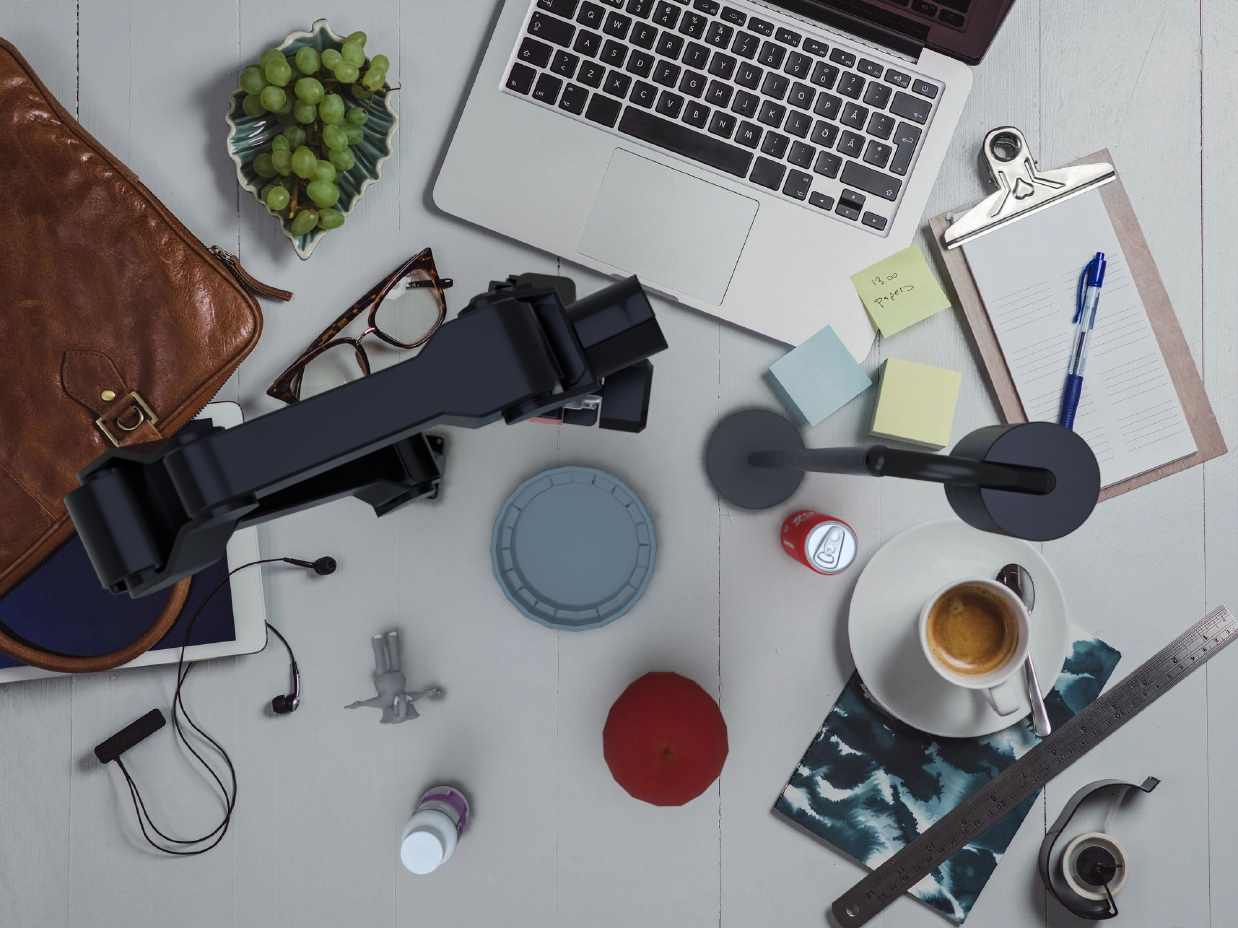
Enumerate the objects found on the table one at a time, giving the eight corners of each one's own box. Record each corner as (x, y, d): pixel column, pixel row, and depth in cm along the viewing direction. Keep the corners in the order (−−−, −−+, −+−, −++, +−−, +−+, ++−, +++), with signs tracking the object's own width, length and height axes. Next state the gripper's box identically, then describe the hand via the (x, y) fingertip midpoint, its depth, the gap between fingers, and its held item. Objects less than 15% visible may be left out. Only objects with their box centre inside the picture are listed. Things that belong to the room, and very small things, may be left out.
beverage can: (770, 548, 86) (792, 563, 74) (789, 501, 86) (815, 509, 74) (817, 567, 86) (847, 585, 74) (837, 520, 85) (869, 531, 73)
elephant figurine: (440, 621, 87) (456, 709, 83) (418, 637, 91) (432, 722, 88) (344, 631, 80) (357, 726, 77) (325, 648, 85) (336, 739, 81)
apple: (628, 638, 86) (627, 671, 73) (735, 676, 86) (754, 716, 72) (589, 747, 86) (581, 800, 73) (696, 786, 86) (707, 846, 73)
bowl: (488, 612, 86) (481, 619, 82) (508, 456, 86) (501, 456, 82) (644, 632, 86) (644, 641, 82) (664, 476, 86) (665, 477, 82)
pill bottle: (453, 845, 87) (430, 893, 77) (409, 817, 87) (381, 862, 77) (480, 801, 86) (460, 844, 77) (436, 773, 87) (412, 813, 77)
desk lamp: (699, 501, 86) (768, 549, 41) (712, 404, 86) (795, 347, 41) (855, 521, 85) (1095, 591, 41) (867, 424, 85) (1122, 387, 41)
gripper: (664, 282, 62) (659, 317, 78) (417, 252, 63) (461, 293, 78) (646, 431, 62) (644, 436, 78) (399, 400, 63) (446, 412, 78)
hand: (549, 391), depth 78 cm, fingers closed on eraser, 3 cm apart
